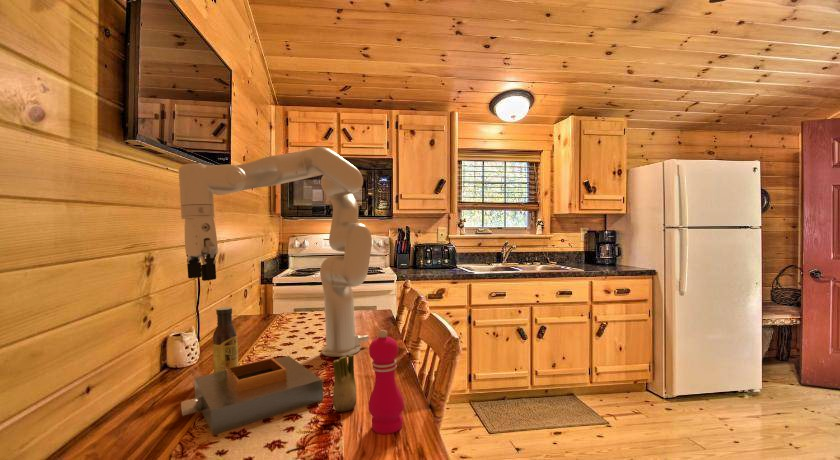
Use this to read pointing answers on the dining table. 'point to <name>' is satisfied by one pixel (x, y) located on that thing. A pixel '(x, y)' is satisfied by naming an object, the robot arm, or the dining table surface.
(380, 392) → the pepper mill
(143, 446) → the dining table surface
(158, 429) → the dining table surface
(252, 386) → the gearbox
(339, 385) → the fennel bulb
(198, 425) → the dining table surface
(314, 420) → the dining table surface
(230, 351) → the sauce bottle
